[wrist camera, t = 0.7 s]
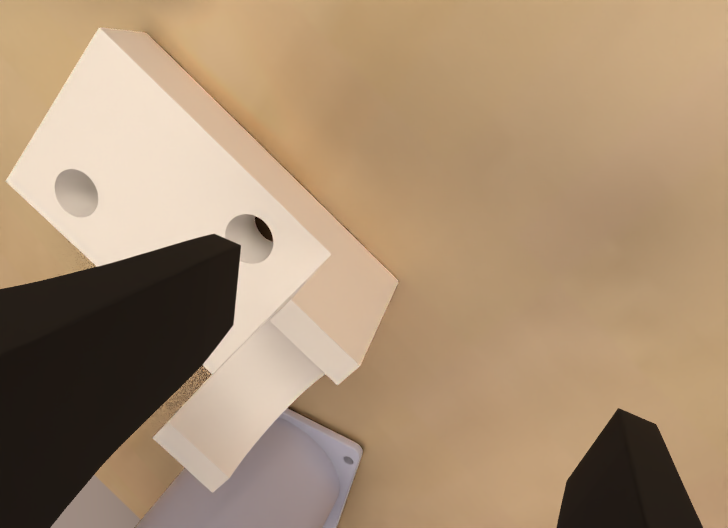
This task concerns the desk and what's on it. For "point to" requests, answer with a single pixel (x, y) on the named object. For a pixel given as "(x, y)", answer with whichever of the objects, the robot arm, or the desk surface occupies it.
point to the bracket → (200, 218)
